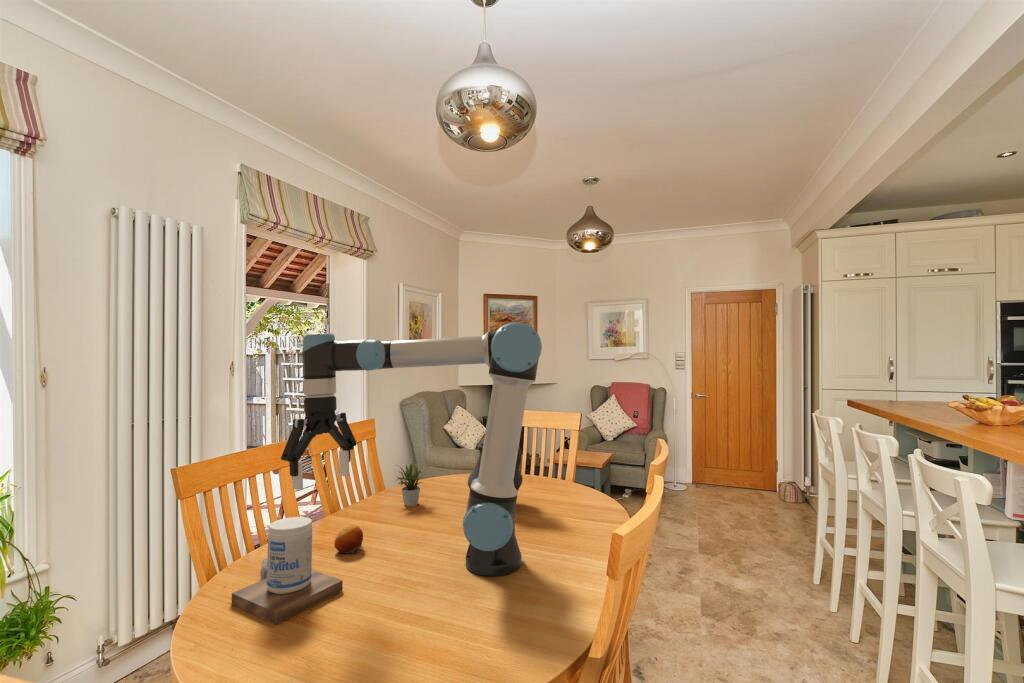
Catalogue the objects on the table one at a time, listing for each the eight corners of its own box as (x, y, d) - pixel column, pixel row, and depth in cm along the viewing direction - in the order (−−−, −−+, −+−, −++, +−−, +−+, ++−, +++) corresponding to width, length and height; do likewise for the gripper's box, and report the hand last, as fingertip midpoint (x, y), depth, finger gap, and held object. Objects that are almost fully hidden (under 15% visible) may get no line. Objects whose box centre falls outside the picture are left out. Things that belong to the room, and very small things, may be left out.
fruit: (360, 552, 134) (347, 526, 135) (338, 565, 136) (325, 539, 137) (374, 541, 142) (361, 517, 143) (353, 553, 144) (341, 529, 145)
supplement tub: (265, 599, 106) (265, 532, 107) (268, 581, 115) (268, 519, 115) (312, 590, 110) (312, 525, 111) (312, 573, 119) (312, 513, 119)
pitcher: (491, 495, 193) (490, 433, 194) (536, 505, 180) (535, 438, 181) (457, 509, 176) (456, 441, 177) (504, 520, 164) (503, 447, 164)
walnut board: (342, 590, 115) (342, 580, 115) (276, 624, 100) (276, 612, 101) (298, 574, 124) (298, 565, 124) (231, 604, 109) (231, 593, 109)
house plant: (389, 500, 188) (389, 458, 189) (424, 496, 193) (424, 456, 193) (391, 511, 175) (391, 466, 175) (429, 507, 179) (429, 463, 180)
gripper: (349, 391, 131) (351, 469, 130) (263, 400, 109) (265, 494, 109) (369, 391, 127) (371, 472, 127) (283, 400, 106) (286, 497, 105)
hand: (322, 482), depth 118 cm, fingers open, 13 cm apart
